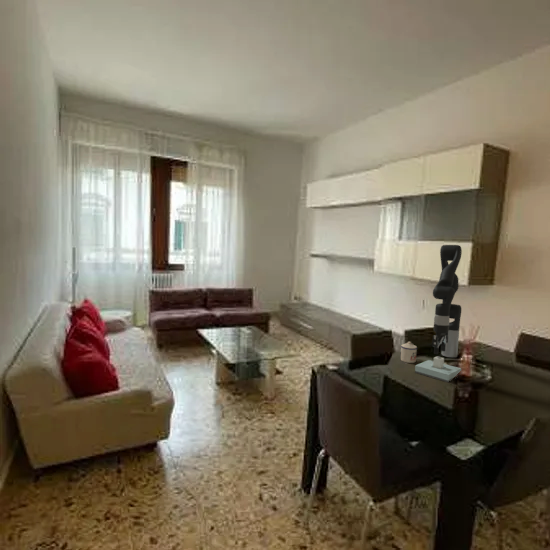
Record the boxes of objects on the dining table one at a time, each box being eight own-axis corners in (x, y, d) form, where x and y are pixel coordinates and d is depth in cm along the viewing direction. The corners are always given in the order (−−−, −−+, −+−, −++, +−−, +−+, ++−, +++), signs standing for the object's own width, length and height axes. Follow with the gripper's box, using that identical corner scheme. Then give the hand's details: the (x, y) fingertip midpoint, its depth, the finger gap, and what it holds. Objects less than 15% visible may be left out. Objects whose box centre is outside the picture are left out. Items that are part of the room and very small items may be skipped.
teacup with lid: (413, 364, 219) (414, 344, 218) (397, 360, 224) (399, 341, 223) (420, 359, 228) (421, 341, 227) (405, 356, 234) (406, 338, 232)
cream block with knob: (435, 370, 206) (436, 355, 205) (443, 372, 203) (444, 357, 202) (432, 372, 203) (433, 356, 202) (440, 374, 200) (441, 358, 200)
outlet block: (428, 366, 215) (428, 359, 215) (460, 375, 202) (461, 368, 202) (414, 372, 204) (415, 365, 204) (448, 382, 191) (448, 374, 191)
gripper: (440, 320, 208) (438, 348, 210) (428, 323, 199) (426, 353, 200) (454, 322, 203) (451, 351, 204) (442, 326, 193) (440, 356, 195)
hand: (439, 352), depth 202 cm, fingers open, 8 cm apart
